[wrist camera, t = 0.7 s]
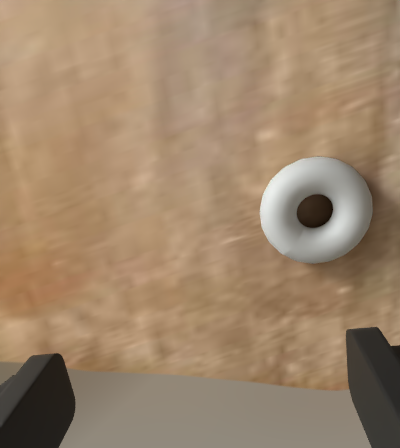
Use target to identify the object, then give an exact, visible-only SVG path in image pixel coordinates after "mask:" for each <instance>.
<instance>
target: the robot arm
mask: <svg viewBox="0 0 400 448" xmlns="http://www.w3.org/2000/svg"><path fill="white" fill-rule="evenodd" d="M346 348H347V368H348V383H349V389H350V393H351V397H352V401H353V403H354V406H355V408H356V410H357V413H358V416H359V418H360V420H361V423H362V425H363V427H364V430H365V432H366V435H367V437H368V440H369V442H370V444H371V447H372V448H400V345H399V346H390V344H389V343H388V341H387V340H386V338H385V337H384V335H383V334H382V332H381V331H380V330H379V328H378V327H370V328H358V329H348V330H347V331H346ZM74 413H75V396H74V393H73V389H72V386H71V383H70V380H69V376H68V373H67V369H66V366H65V362H64V359H63V357H62V356H61V355H60V354H58V353H56V354H44V355H33V356H31V357H30V358H29V359H28V360H27V361H26V362H25V364H24V365H23V366H22V367H21V369H20V370H19V371H18V372H17V374H16V375H13V376H12V377H10V378H9V379H8V380H7V381H5V382H4V383H2V384H1V385H0V448H59V446H60V444H61V442H62V440H63V438H64V436H65V434H66V432H67V430H68V428H69V426H70V424H71V422H72V420H73V417H74Z"/></svg>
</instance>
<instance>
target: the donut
mask: <svg viewBox="0 0 400 448" xmlns="http://www.w3.org/2000/svg"><path fill="white" fill-rule="evenodd" d="M314 194H321V195H324V196H326V197H328V198H329V200H330V201H331V202H332V204H333V213H332V216H331V218H330V219H329V221H328V222H327V223H325V224H324V225H322V226H320V227H317V228H309V227H305V226H303V225H302V224H301V223H300V222H299V220H298V218H297V208H298V206H299V204H300V203H301V201H302V200H304V199H305V198H306V197H308V196H310V195H314ZM372 214H373V208H372V195H371V193H370V191H369V188H368V186H367V184H366V181H365V180H364V179H363V178H362V177H361V175H360V174H359V173H358V172H357V171H356V170H355V169H354V168H353V167H352V166H350V165H348V164H346V163H344V162H342V161H340V160H338V159H334V158H327V157H321V156H317V157H311V158H305V159H300V160H298V161H296V162H294V163H292V164H290V165H288V166H286V167H284V168H283V169H282V170H281V171H280V172H279V173H278V174H277V175H276V176H274V177H273V178H272V179H271V181H270V183H269V185H268V186H267V188H266V190H265V192H264V194H263V197H262V202H261V207H260V217H261V225H262V229H263V231H264V233H265V235H266V237H267V238H268V240H269V242H270V243H271V244H272V245H273V246H274V247H275V248H276V249H277V250H278V251H279V252H280V253H281V254H283V255H285V256H287V257H289V258H291V259H293V260H295V261H299V262H305V263H312V264H314V263H321V262H329V261H332V260H334V259H336V258H339V257H341V256H343V255H345V254H347V253H348V252H349V251H350V250H351V249H353V248H354V247H355V246H356V245H357V244H359V242H360V241H361V239H362V238H363V236H364V235H365V233H366V232H367V230H368V228H369V224H370V221H371V217H372Z"/></svg>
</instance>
